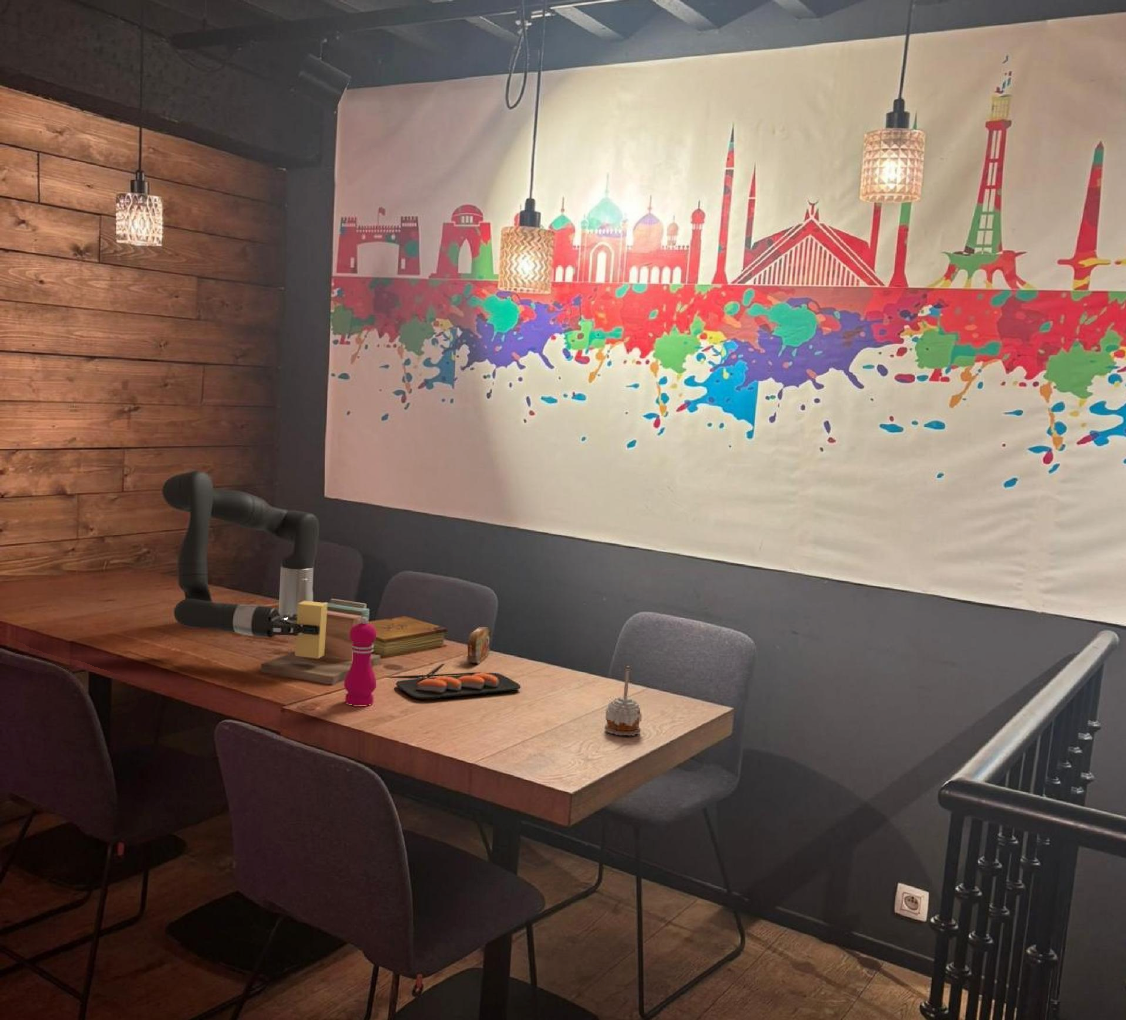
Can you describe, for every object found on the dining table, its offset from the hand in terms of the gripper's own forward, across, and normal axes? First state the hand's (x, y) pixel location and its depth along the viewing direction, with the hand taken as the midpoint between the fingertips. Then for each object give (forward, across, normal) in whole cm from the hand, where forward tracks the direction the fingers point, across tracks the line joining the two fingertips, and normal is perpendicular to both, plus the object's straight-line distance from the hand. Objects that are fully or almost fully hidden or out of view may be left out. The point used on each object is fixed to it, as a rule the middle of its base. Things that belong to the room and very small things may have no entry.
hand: (322, 628), depth 266 cm
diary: (+8, +36, +12) cm, 39 cm away
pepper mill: (+17, -18, +12) cm, 27 cm away
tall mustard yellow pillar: (-3, 0, +7) cm, 8 cm away
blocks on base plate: (-2, +6, +11) cm, 13 cm away
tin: (+33, +30, +11) cm, 47 cm away
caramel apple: (+77, -17, +11) cm, 79 cm away
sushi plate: (+30, +7, +12) cm, 33 cm away
